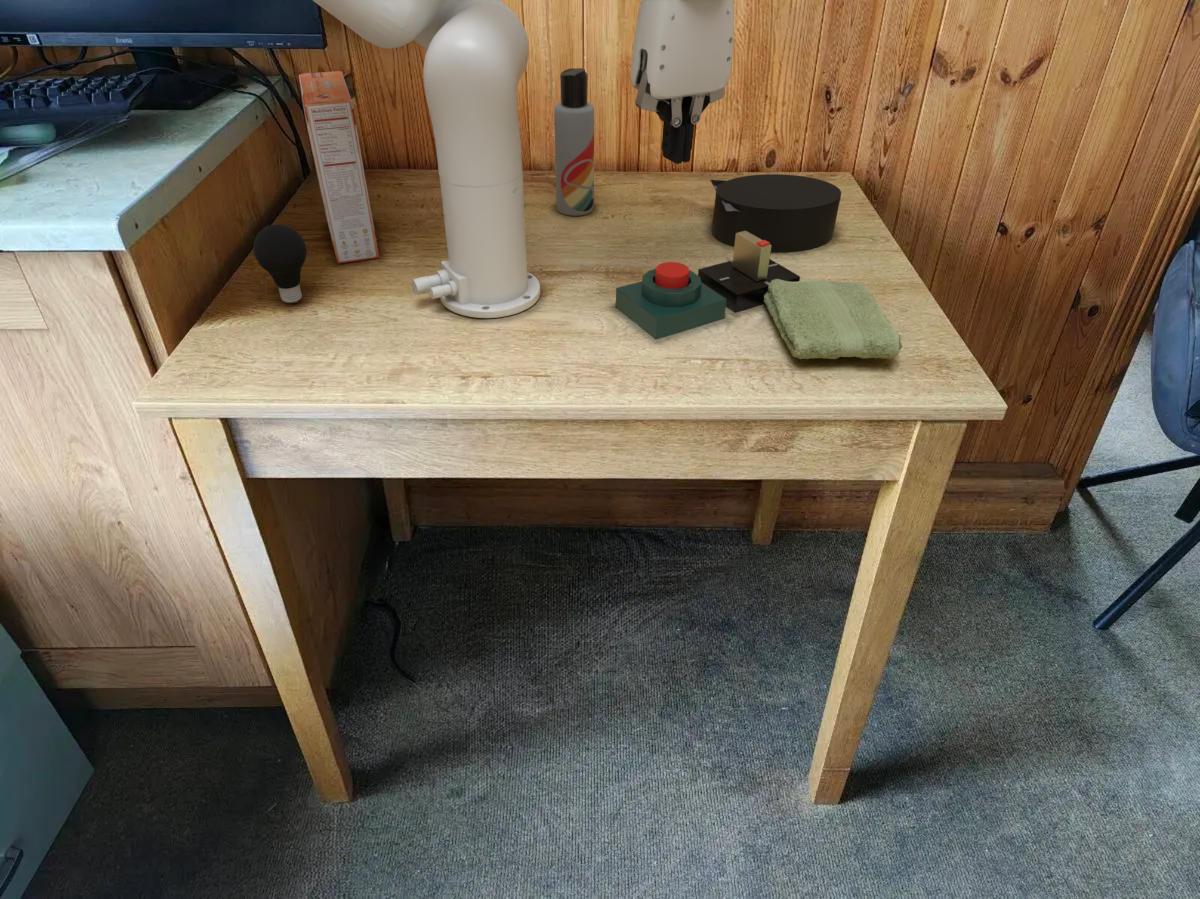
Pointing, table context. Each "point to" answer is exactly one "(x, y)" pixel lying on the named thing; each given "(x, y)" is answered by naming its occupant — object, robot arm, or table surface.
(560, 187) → the lotion bottle
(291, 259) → the light bulb
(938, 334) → the table surface
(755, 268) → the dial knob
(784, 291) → the washcloth
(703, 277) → the dial panel
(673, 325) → the button block
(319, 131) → the cracker box
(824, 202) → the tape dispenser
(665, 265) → the button
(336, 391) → the table surface
